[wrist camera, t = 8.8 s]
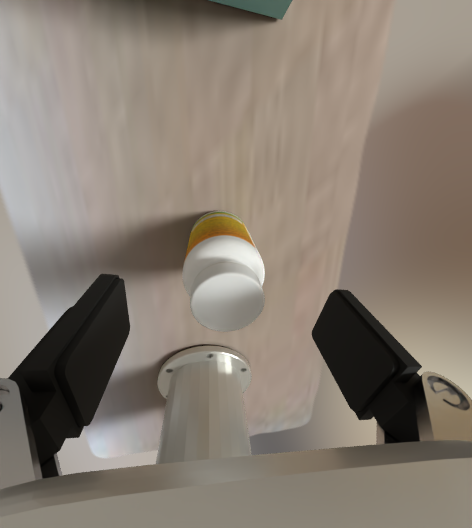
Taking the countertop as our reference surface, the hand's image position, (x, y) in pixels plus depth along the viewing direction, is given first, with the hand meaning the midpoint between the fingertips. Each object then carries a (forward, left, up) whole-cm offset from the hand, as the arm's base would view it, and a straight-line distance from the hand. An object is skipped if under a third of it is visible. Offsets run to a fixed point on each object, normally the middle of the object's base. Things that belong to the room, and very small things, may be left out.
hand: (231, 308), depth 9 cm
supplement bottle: (-1, 0, -11) cm, 11 cm away
